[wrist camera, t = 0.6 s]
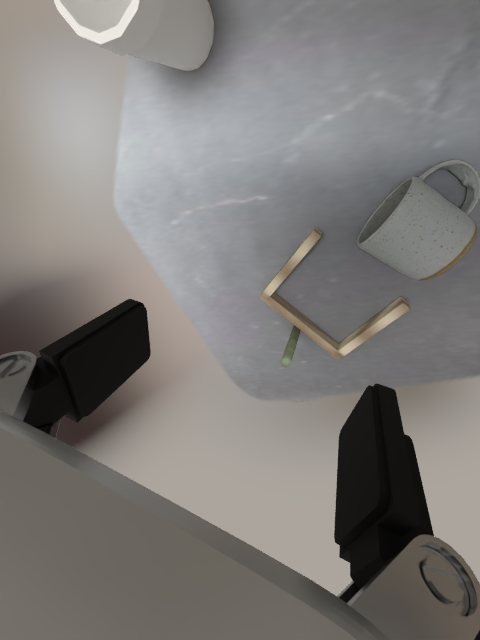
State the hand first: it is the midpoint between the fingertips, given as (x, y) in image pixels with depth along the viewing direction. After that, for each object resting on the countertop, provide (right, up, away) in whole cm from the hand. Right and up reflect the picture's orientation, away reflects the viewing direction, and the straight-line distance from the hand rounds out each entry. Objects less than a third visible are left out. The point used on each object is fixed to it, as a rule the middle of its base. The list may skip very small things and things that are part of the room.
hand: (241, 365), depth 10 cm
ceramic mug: (+19, +14, +18) cm, 30 cm away
